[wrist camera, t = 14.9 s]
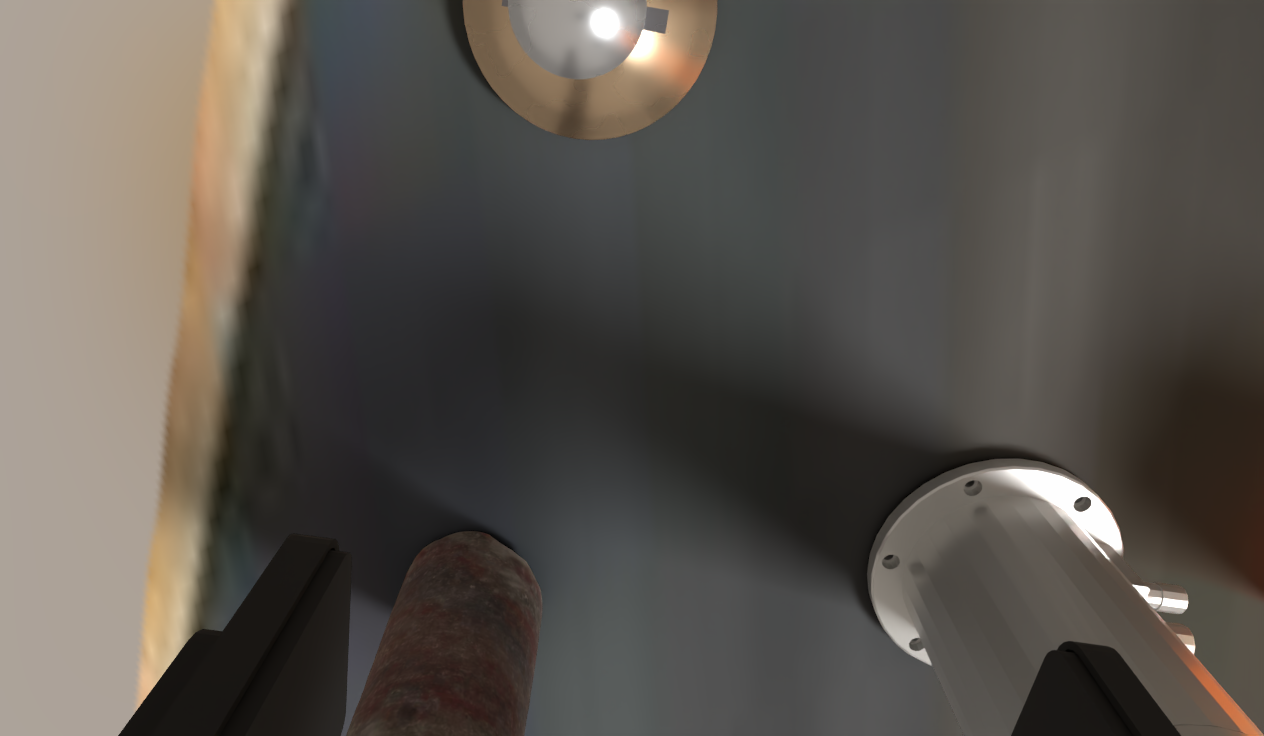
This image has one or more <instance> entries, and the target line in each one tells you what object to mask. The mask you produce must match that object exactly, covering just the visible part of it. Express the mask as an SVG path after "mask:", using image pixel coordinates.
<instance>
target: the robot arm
mask: <svg viewBox="0 0 1264 736" xmlns="http://www.w3.org/2000/svg"><path fill="white" fill-rule="evenodd" d="M1123 553H1124V547H1123V542H1122V537H1121V532H1120V528H1119V526H1118V524H1117V522H1116V520H1115V518H1114V516H1113V514H1112V512H1111V510H1110V509H1109V508H1108V507H1107V505H1106V504H1105V503H1104V502H1103V501H1102V499H1101V498H1100V497H1099V496H1098V495H1097V494H1096V493H1095V492H1094V491H1093V490H1092V489H1091V488H1090V487H1089V486H1088V485H1087V484H1086V483H1084V482H1083V481H1082V480H1081V479H1079V478H1077V477H1076V476H1074V475H1072V474H1071V473H1069V472H1067V471H1066V470H1064V469H1061V468H1058V467H1055V466H1052V465H1049V464H1047V463H1044V462H1039V461H1032V460H1026V459H1019V458H1017V459H991V460H986V461H981V462H975V463H970V464H967V465H964V466H961V467H958V468H956V469H953V470H950V471H947V472H945V473H943V474H941V475H939V476H937V477H936V478H934V479H932V480H930V481H928V482H926V483H925V484H923V485H922V486H920V487H919V488H918V489H916V490H915V491H914V492H913V493H911V494H910V495H909V496H907V497H906V498H905V499H904V500H903V501H902V502H901V503H900V504H899V505H898V506H897V507H896V509H895V510H894V511H893V512H892V513H891V514H890V515H889V516H888V518H887V519H886V521H885V523H884V524H883V526H882V528H881V529H880V531H879V532H878V534H877V536H876V539H875V541H874V544H873V547H872V549H871V552H870V556H869V563H868V570H867V581H868V592H869V595H870V598H871V601H872V604H873V607H874V610H875V613H876V615H877V617H878V619H879V621H880V623H881V625H882V627H883V629H884V630H885V631H886V633H887V634H888V635H889V636H890V638H891V639H892V640H893V641H894V643H895V644H897V645H898V646H899V647H900V648H901V649H902V650H904V651H905V652H906V653H907V654H909V655H910V656H912V657H914V658H916V659H918V660H920V661H922V662H924V663H926V664H928V665H931V666H933V668H934V670H935V673H936V675H937V677H938V679H939V682H940V684H941V686H942V688H943V690H944V693H945V695H946V697H947V699H948V702H949V704H950V706H951V708H952V710H953V713H954V715H955V717H956V719H957V722H958V724H959V726H960V728H961V730H962V733H963V735H964V736H1264V735H1263V734H1262V733H1261V731H1260V730H1259V729H1258V728H1257V727H1256V726H1255V724H1254V723H1253V722H1252V721H1251V720H1250V719H1249V718H1248V716H1247V715H1246V714H1245V713H1244V712H1243V711H1242V710H1241V708H1240V707H1239V706H1238V705H1237V704H1236V703H1235V702H1234V700H1233V699H1232V698H1231V697H1230V696H1229V695H1228V693H1227V692H1226V691H1225V690H1224V689H1223V688H1222V687H1221V685H1220V684H1219V683H1218V682H1217V681H1216V680H1215V679H1214V677H1213V676H1212V675H1211V674H1210V673H1209V672H1208V671H1207V669H1206V668H1205V667H1204V666H1203V665H1202V664H1201V663H1200V661H1199V660H1198V659H1197V658H1196V657H1195V656H1194V650H1195V642H1194V636H1193V634H1192V633H1191V631H1190V629H1189V628H1188V627H1186V626H1185V625H1183V624H1178V623H1170V622H1165V621H1164V620H1163V619H1162V618H1161V617H1160V615H1159V614H1158V613H1157V612H1156V611H1160V612H1167V613H1174V614H1181V613H1183V612H1184V611H1185V610H1186V609H1187V605H1188V595H1187V593H1186V591H1185V589H1184V588H1183V587H1181V586H1179V585H1173V584H1166V583H1159V582H1152V583H1149V582H1143V581H1142V580H1141V579H1140V578H1139V576H1138V575H1137V574H1136V573H1135V572H1134V571H1133V570H1132V569H1131V568H1130V566H1129V565H1128V564H1127V563H1126V562H1125V561H1124V560H1123ZM351 569H352V557H351V554H350V553H348V552H341V551H339V545H338V542H337V540H336V539H330V538H323V537H316V536H309V535H301V534H291V535H289V537H288V538H287V539H286V540H285V542H284V543H283V545H282V546H281V547H280V549H279V550H278V552H277V553H276V555H275V556H274V558H273V559H272V561H271V562H270V563H269V565H268V566H267V568H266V569H265V571H264V572H263V574H262V575H261V577H260V578H259V579H258V581H257V582H256V584H255V585H254V587H253V588H252V590H251V591H250V592H249V594H248V595H247V597H246V598H245V600H244V601H243V603H242V604H241V606H240V607H239V608H238V610H237V611H236V613H235V614H234V616H233V617H232V619H231V620H230V622H229V623H228V624H227V626H226V627H225V629H224V630H223V632H222V631H214V630H207V629H202V630H200V631H198V632H196V633H195V634H194V635H193V636H192V637H191V638H190V639H189V640H188V642H187V643H186V644H185V646H184V647H183V648H182V650H181V651H180V652H179V654H178V655H177V656H176V658H175V659H174V661H173V662H172V663H171V665H170V666H169V667H168V669H167V670H166V671H165V673H164V674H163V675H162V677H161V678H160V680H159V681H158V682H157V684H156V685H155V686H154V688H153V689H152V690H151V692H150V693H149V695H148V696H147V697H146V699H145V700H144V701H143V703H142V704H141V705H140V707H139V708H138V710H137V711H136V712H135V714H134V715H133V716H132V718H131V719H130V720H129V722H128V723H127V724H126V726H125V727H124V729H123V730H122V731H121V733H120V734H119V735H118V736H341V732H342V729H343V725H344V720H345V714H346V696H347V671H348V646H349V620H350V595H351Z"/></svg>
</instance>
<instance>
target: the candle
mask: <svg viewBox="0 0 1264 736" xmlns="http://www.w3.org/2000/svg"><path fill="white" fill-rule="evenodd" d="M541 618H542V595H541V589H540V587H539V585H538V583H537V581H536V579H535V577H534V575H533V573H532V570H531V569H530V567H529V565H528V564H527V562H526V561H525V560H524V559H523V558H521V557H520V556H519V555H517V554H516V553H515V552H514V551H513V550H511V549H509V548H507V547H506V546H505V545H503V544H501V543H500V542H498V541H497V540H496V539H494V538H492V537H491V535H489V534H486V533H483V532H478V531H464V532H457V533H454V534H451V535H448V536H445V537H444V538H442V539H439V540H437V541H434V542H432V543H431V544H429V545H427V546H426V547H425V548H423V549H422V550H421V551H420V553H419V554H418V555H417V556H416V557H415V559H414V561H413V563H412V564H411V566H410V568H409V570H408V572H407V574H406V576H405V579H404V582H403V584H402V587H401V589H400V592H399V594H398V597H397V600H396V602H395V605H394V607H393V610H392V612H391V615H390V618H389V620H388V623H387V626H386V629H385V632H384V634H383V637H382V640H381V643H380V646H379V649H378V651H377V654H376V657H375V660H374V663H373V665H372V668H371V671H370V673H369V676H368V679H367V682H366V685H365V688H364V691H363V693H362V696H361V699H360V701H359V703H358V706H357V708H356V711H355V713H354V716H353V719H352V721H351V724H350V727H349V729H348V732H347V735H346V736H524V733H525V726H526V719H527V714H528V709H529V703H530V695H531V689H532V682H533V676H534V669H535V662H536V655H537V648H538V640H539V633H540V627H541Z"/></svg>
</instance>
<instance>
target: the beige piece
mask: <svg viewBox="0 0 1264 736" xmlns="http://www.w3.org/2000/svg"><path fill="white" fill-rule="evenodd" d="M463 12H464V22H465V27H466V32H467V36H468V40H469V43H470V46H471V49H472V52H473V55H474V57H475V59H476V61H477V64H478V66H479V68H480V70H481V72H482V73H483V75H484V77H485V78H486V80H487V81H488V83H489V84H490V86H491V87H492V88H493V90H494V91H495V92H496V93H497V94H498V96H499V97H500V98H501V99H502V100H503V101H504V102H505V103H506V104H507V105H508V106H509V107H510V108H511V109H512V110H514V111H515V112H516V113H517V114H519V115H520V116H522V117H523V118H524V119H526V120H527V121H529V122H530V123H532V124H534V125H536V126H538V127H540V128H542V129H544V130H546V131H549V132H552V133H554V134H557V135H561V136H565V137H569V138H574V139H585V140H600V139H609V138H615V137H621V136H624V135H627V134H630V133H633V132H636V131H638V130H640V129H642V128H644V127H647V126H649V125H651V124H652V123H654V122H655V121H657V120H658V119H660V118H661V117H663V116H664V115H665V114H666V113H668V112H669V111H670V110H671V109H672V108H674V107H675V106H676V105H677V104H678V103H679V101H680V100H681V99H682V98H683V97H684V96H685V95H686V94H687V92H688V91H689V90H690V88H691V87H692V85H693V84H694V82H695V81H696V80H697V78H698V76H699V74H700V72H701V70H702V68H703V66H704V64H705V62H706V59H707V57H708V54H709V51H710V49H711V45H712V41H713V37H714V33H715V27H716V18H717V0H463Z"/></svg>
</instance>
